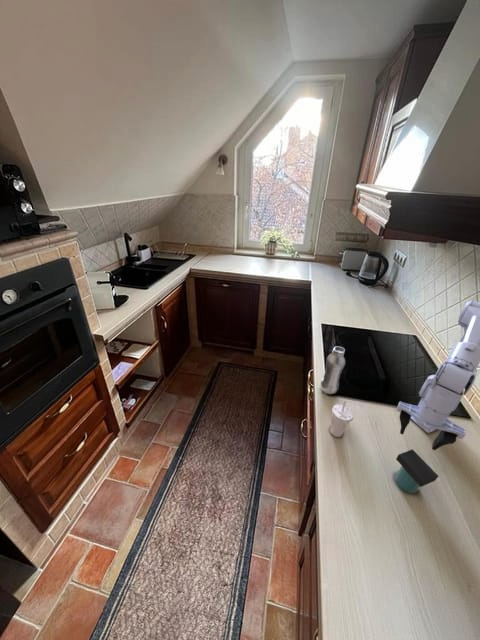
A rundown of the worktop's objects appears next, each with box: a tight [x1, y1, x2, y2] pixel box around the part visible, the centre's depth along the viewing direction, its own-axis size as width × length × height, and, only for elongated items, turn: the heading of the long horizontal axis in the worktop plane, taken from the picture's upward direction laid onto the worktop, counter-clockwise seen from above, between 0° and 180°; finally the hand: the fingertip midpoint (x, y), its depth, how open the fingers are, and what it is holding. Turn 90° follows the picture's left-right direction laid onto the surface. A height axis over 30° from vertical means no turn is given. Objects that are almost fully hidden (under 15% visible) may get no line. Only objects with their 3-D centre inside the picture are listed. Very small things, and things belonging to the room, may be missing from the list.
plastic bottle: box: [320, 345, 346, 395], centre depth 95 cm, size 6×7×20 cm
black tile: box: [395, 448, 439, 488], centre depth 66 cm, size 8×5×2 cm, turn 19°
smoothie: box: [329, 399, 355, 438], centre depth 80 cm, size 6×6×14 cm
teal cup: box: [394, 465, 421, 495], centre depth 68 cm, size 5×5×6 cm
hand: (417, 439), depth 70 cm, fingers open, 7 cm apart
